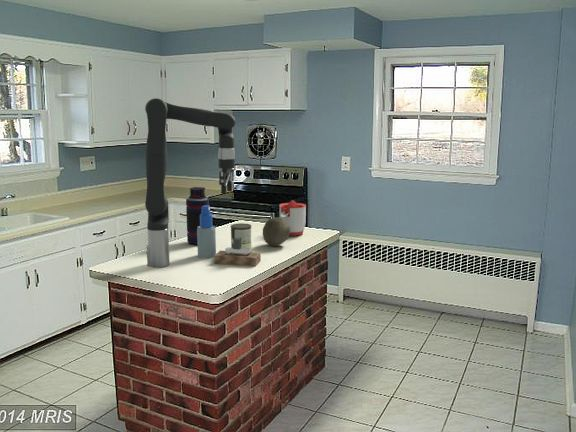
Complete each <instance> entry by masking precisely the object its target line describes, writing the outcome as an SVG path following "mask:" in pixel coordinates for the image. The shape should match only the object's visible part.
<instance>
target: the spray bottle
mask: <svg viewBox="0 0 576 432" xmlns="http://www.w3.org/2000/svg"><path fill="white" fill-rule="evenodd" d="M210 207H211V206H210V204H209V205H204V206H202V211H201V214H200V226H198V227H197V257H198V258H200V259H211V258H212V259H214V255H215V254H217V244H216V243H217V242H216V241H217V239H216V237H217V236H216V235H217V233H216V226H215V225H213V214H212V213H211V209H210Z"/></svg>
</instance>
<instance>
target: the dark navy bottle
mask: <svg viewBox="0 0 576 432" xmlns="http://www.w3.org/2000/svg"><path fill="white" fill-rule="evenodd" d="M206 192H207V194H208V196H207V195H206ZM189 193H190V195H189V197H187V198H185V205H186V207H185V208H186V209H185V213H186V232H187V233H186V234H187V236H186V239H187V243H188V245H191V244H197V227H198V226H200V214H201V211H202V206H204V205H209V206H210V201H209V196H210V193H209V191H208V190H207V189H206V187H204V186H203V187H202V186H201V187H200V186H192V187H190V188H189ZM197 245H198V244H197Z"/></svg>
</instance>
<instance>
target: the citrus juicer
mask: <svg viewBox="0 0 576 432" xmlns="http://www.w3.org/2000/svg"><path fill="white" fill-rule="evenodd" d="M306 210H307V205H306V203H302V202H301V203H299V202H296V201H295V200H294V199H292V200H291V201H289V202H286V203H280V204H279V218H282V219H284V220H285V221H286V222H287V223H288V224H289V227H290V234H289V236H291V237H296V236H302V235H303V233H304V231H305V227H306V223H307V221H306V218H307V217H306V216H307V211H306Z"/></svg>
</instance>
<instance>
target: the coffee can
mask: <svg viewBox="0 0 576 432" xmlns="http://www.w3.org/2000/svg"><path fill="white" fill-rule="evenodd" d="M235 237H236V238H241V248H249V249H250V252H252V225H251V224H249V223H243V222H242V223H233V224H231V225H230V243H231V244H230V246H231V247H230V248H233V239H234V238H235Z"/></svg>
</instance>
